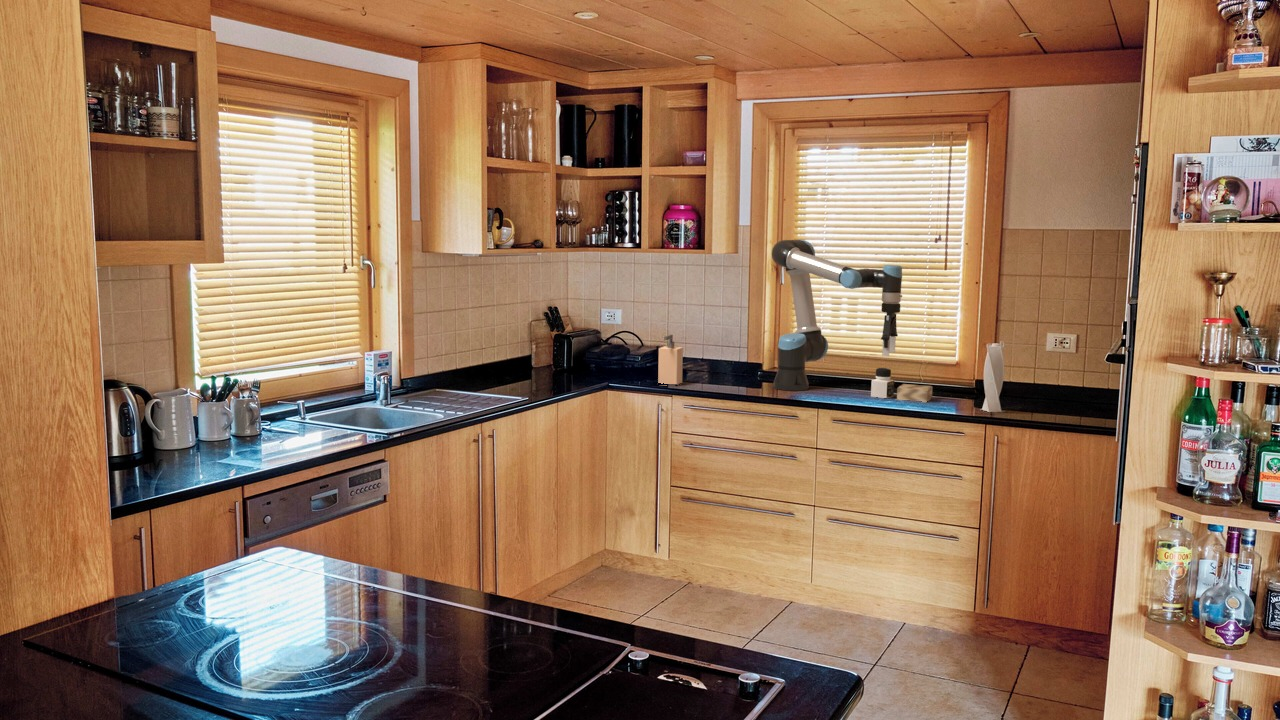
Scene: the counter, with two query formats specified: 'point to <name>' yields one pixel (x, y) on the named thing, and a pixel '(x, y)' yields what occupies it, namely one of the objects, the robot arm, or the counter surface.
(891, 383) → the medicine bottle
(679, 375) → the soap dispenser
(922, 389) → the base block
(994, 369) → the skyscraper
